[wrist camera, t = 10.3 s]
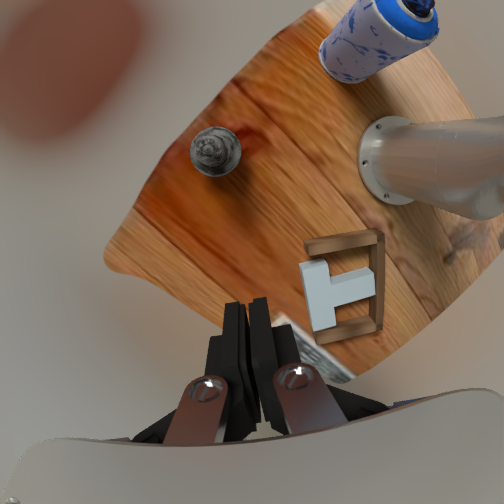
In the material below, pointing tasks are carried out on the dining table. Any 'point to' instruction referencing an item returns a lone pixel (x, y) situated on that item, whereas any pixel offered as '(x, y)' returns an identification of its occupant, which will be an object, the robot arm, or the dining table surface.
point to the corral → (378, 268)
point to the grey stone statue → (215, 151)
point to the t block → (332, 290)
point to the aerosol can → (377, 37)
